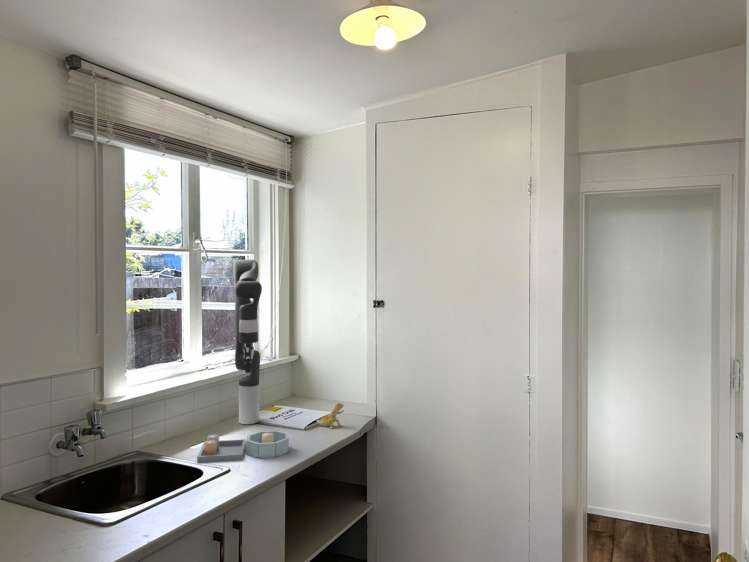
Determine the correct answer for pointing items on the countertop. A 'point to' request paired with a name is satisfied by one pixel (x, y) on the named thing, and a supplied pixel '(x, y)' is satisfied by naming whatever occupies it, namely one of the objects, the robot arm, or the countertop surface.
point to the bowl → (267, 444)
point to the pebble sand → (267, 437)
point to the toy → (331, 417)
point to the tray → (225, 451)
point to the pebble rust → (210, 447)
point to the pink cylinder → (214, 437)
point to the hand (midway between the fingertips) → (248, 370)
